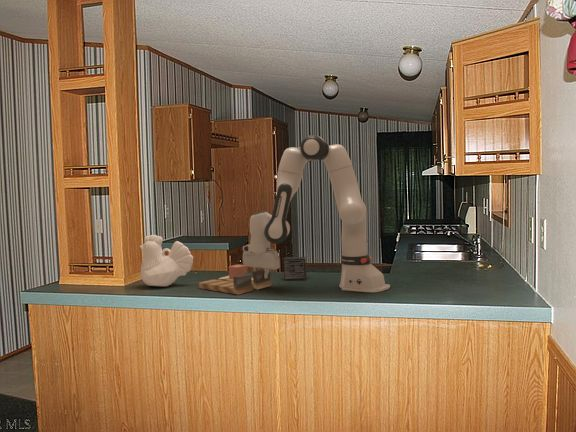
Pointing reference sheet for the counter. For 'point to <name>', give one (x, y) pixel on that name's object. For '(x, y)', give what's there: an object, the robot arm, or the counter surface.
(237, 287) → the oak strip
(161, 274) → the decorative rooster
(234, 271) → the brick block
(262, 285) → the birch strip
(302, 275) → the small box
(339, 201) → the robot arm
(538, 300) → the counter surface
